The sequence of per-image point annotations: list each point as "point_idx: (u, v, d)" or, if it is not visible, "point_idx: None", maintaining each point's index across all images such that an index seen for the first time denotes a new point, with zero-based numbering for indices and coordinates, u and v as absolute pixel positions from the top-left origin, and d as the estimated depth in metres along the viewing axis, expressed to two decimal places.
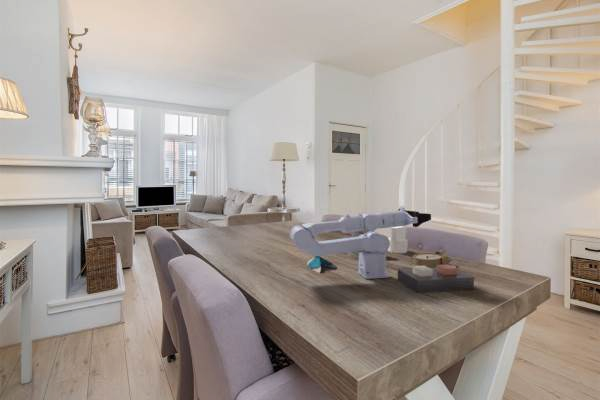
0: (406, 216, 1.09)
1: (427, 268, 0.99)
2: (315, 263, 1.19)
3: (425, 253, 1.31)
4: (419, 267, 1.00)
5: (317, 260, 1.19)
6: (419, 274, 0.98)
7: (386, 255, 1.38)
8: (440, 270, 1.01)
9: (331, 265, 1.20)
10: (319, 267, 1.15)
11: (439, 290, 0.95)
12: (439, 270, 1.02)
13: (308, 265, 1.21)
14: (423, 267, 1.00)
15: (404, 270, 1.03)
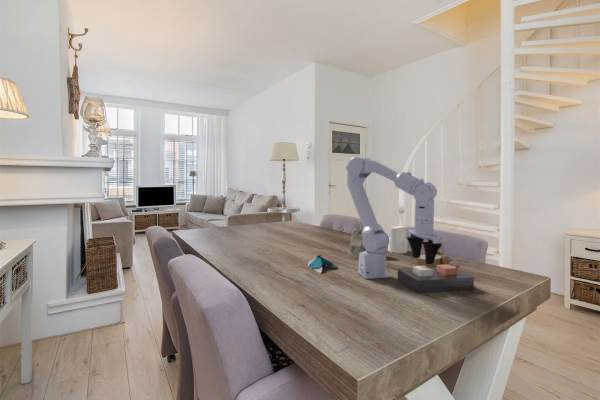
0: (431, 235, 0.96)
1: (427, 268, 0.99)
2: (316, 263, 1.18)
3: None
4: (419, 267, 1.00)
5: (318, 260, 1.19)
6: (419, 274, 0.98)
7: (386, 255, 1.38)
8: (440, 270, 1.01)
9: (332, 265, 1.20)
10: (320, 267, 1.15)
11: (439, 290, 0.95)
12: (439, 270, 1.02)
13: (309, 265, 1.21)
14: (423, 267, 1.00)
15: (404, 270, 1.03)
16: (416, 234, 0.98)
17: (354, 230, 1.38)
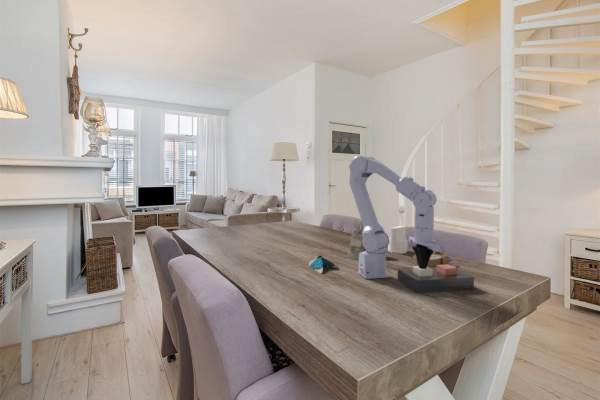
0: (431, 243, 0.97)
1: (427, 268, 0.99)
2: (317, 264, 1.18)
3: None
4: None
5: (319, 261, 1.18)
6: (419, 274, 0.98)
7: (386, 255, 1.37)
8: (440, 270, 1.01)
9: (333, 266, 1.19)
10: (321, 268, 1.14)
11: (439, 290, 0.95)
12: (439, 270, 1.02)
13: (310, 265, 1.21)
14: None
15: (404, 270, 1.03)
16: (416, 242, 0.98)
17: (354, 230, 1.38)
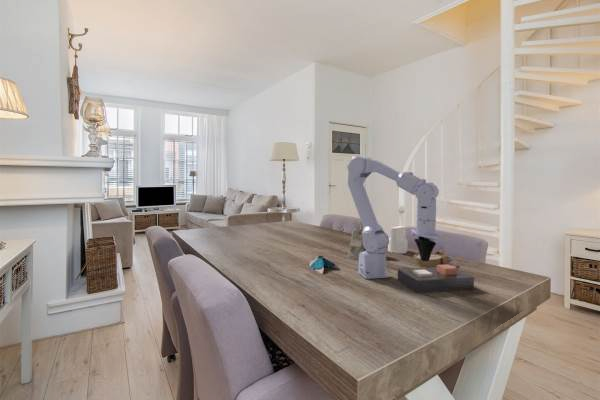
0: (434, 235, 0.96)
1: (427, 272, 0.99)
2: (318, 264, 1.18)
3: None
4: (419, 271, 1.00)
5: (319, 261, 1.18)
6: None
7: (386, 255, 1.37)
8: (440, 270, 1.01)
9: (334, 266, 1.19)
10: (322, 268, 1.14)
11: (439, 290, 0.95)
12: (439, 270, 1.02)
13: (311, 266, 1.20)
14: (423, 271, 1.00)
15: (404, 270, 1.03)
16: (418, 234, 0.98)
17: (354, 230, 1.38)
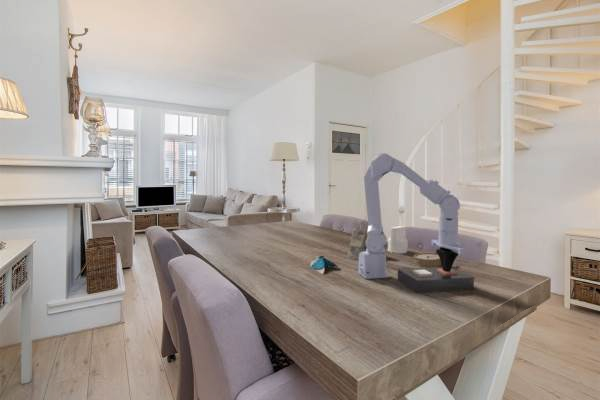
0: (456, 246, 0.98)
1: (427, 272, 0.99)
2: (319, 264, 1.17)
3: (425, 253, 1.31)
4: (419, 271, 1.00)
5: (320, 261, 1.18)
6: None
7: (386, 256, 1.37)
8: None
9: (335, 266, 1.19)
10: (323, 268, 1.14)
11: (439, 290, 0.95)
12: None
13: (311, 266, 1.20)
14: (423, 271, 1.00)
15: (404, 270, 1.03)
16: (440, 245, 1.00)
17: (354, 230, 1.37)
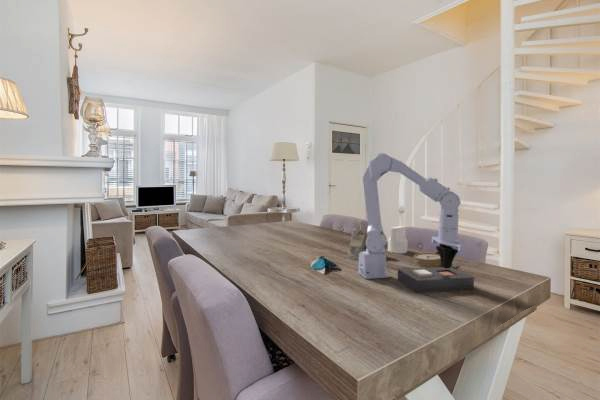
0: None
1: (427, 272, 0.99)
2: (319, 264, 1.17)
3: (426, 253, 1.31)
4: (419, 271, 1.00)
5: (321, 261, 1.17)
6: None
7: (386, 256, 1.37)
8: None
9: (335, 266, 1.19)
10: (323, 268, 1.14)
11: (439, 290, 0.95)
12: None
13: (312, 266, 1.20)
14: (423, 271, 1.00)
15: (404, 270, 1.03)
16: (440, 242, 1.00)
17: (354, 230, 1.37)
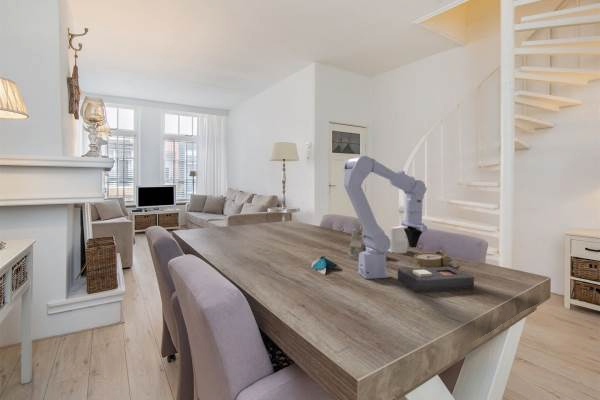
0: (420, 224, 1.12)
1: (427, 272, 0.99)
2: (320, 264, 1.17)
3: (426, 253, 1.31)
4: (419, 271, 1.00)
5: (322, 262, 1.17)
6: None
7: (386, 256, 1.36)
8: None
9: (336, 267, 1.18)
10: (324, 269, 1.13)
11: (439, 290, 0.95)
12: None
13: (313, 266, 1.19)
14: (423, 271, 1.00)
15: (404, 270, 1.03)
16: (407, 224, 1.14)
17: (354, 231, 1.37)
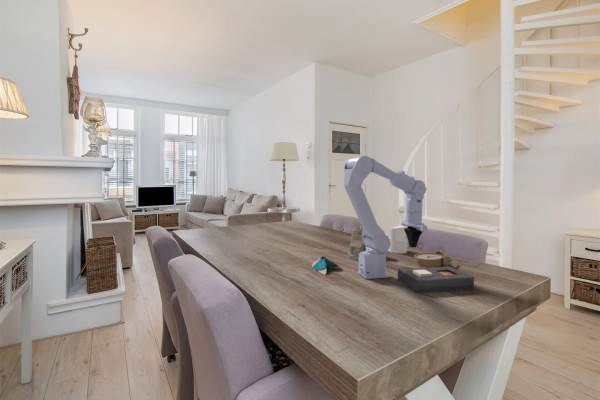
0: (420, 224, 1.12)
1: (427, 272, 0.99)
2: (321, 265, 1.16)
3: (426, 253, 1.31)
4: (419, 271, 1.00)
5: (322, 262, 1.17)
6: None
7: (386, 256, 1.36)
8: None
9: (337, 267, 1.18)
10: (325, 269, 1.13)
11: (439, 290, 0.95)
12: None
13: (313, 267, 1.19)
14: (423, 271, 1.00)
15: (404, 270, 1.03)
16: (407, 224, 1.14)
17: (354, 231, 1.37)
